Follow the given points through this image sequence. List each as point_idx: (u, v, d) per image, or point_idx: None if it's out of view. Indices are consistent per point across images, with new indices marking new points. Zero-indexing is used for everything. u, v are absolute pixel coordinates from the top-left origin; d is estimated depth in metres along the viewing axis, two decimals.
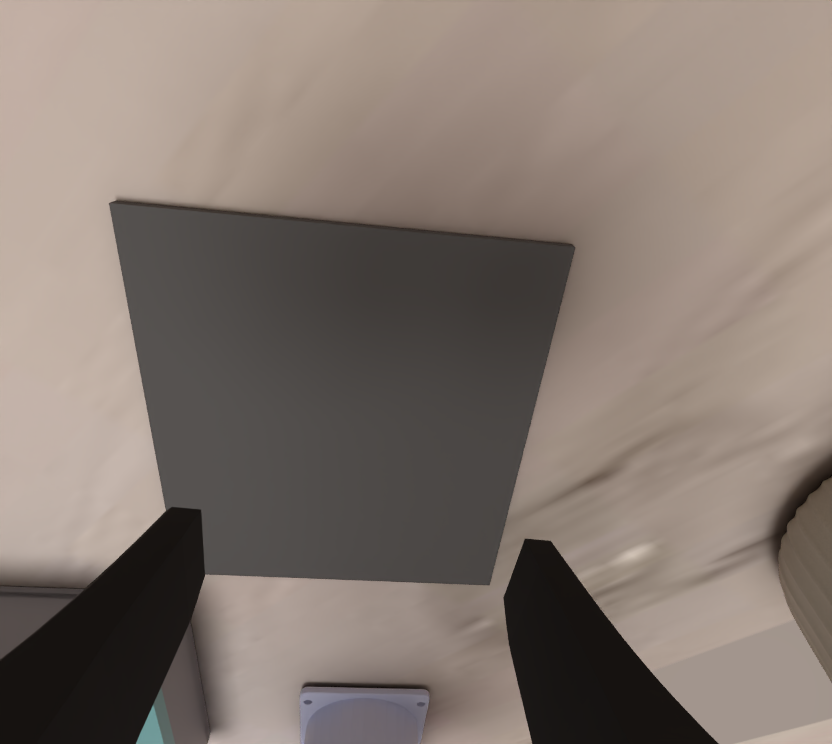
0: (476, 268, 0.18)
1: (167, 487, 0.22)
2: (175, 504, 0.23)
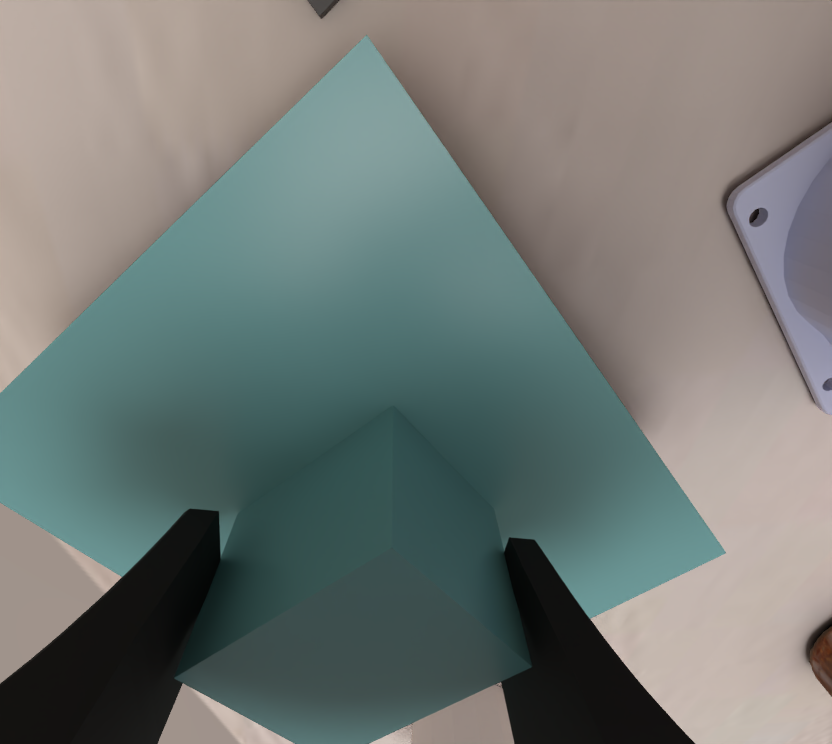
0: None
1: None
2: None
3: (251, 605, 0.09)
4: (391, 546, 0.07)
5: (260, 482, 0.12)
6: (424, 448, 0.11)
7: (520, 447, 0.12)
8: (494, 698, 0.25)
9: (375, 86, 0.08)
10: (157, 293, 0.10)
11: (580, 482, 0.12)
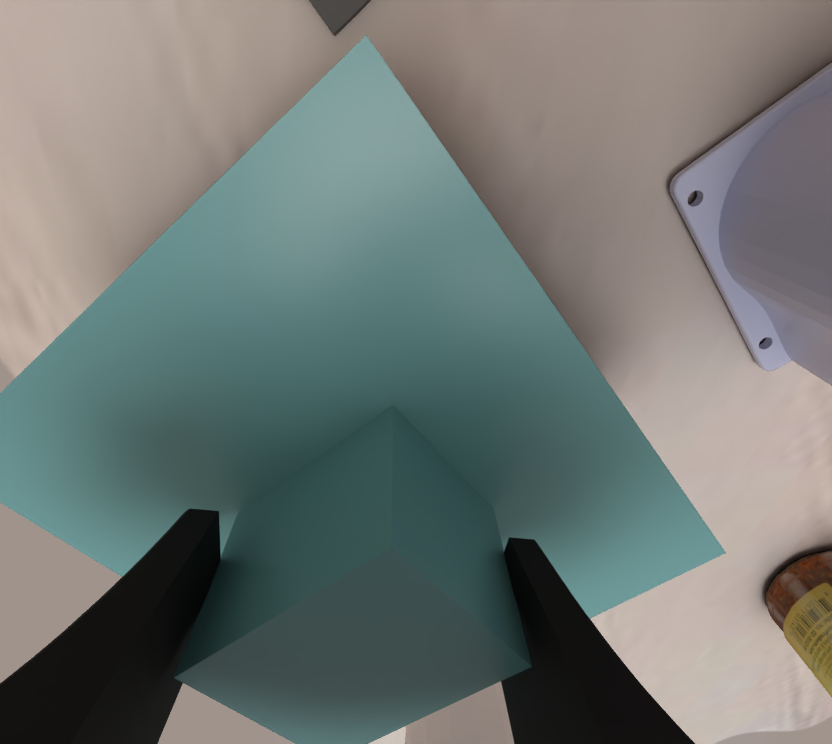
0: None
1: None
2: None
3: (250, 605, 0.09)
4: (390, 546, 0.07)
5: (260, 482, 0.12)
6: (424, 448, 0.11)
7: (520, 447, 0.12)
8: None
9: (375, 86, 0.08)
10: (157, 293, 0.10)
11: (580, 482, 0.12)
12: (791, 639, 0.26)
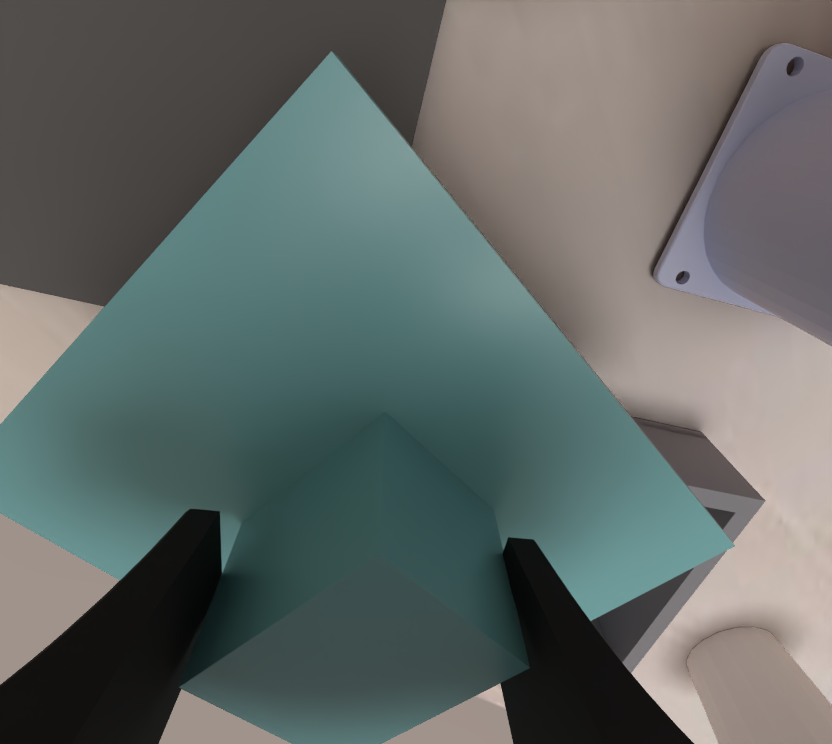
0: None
1: None
2: None
3: (249, 614, 0.09)
4: (377, 553, 0.08)
5: (261, 492, 0.12)
6: (418, 453, 0.11)
7: (515, 447, 0.12)
8: (744, 638, 0.29)
9: (343, 100, 0.08)
10: (148, 313, 0.10)
11: (579, 480, 0.12)
12: None
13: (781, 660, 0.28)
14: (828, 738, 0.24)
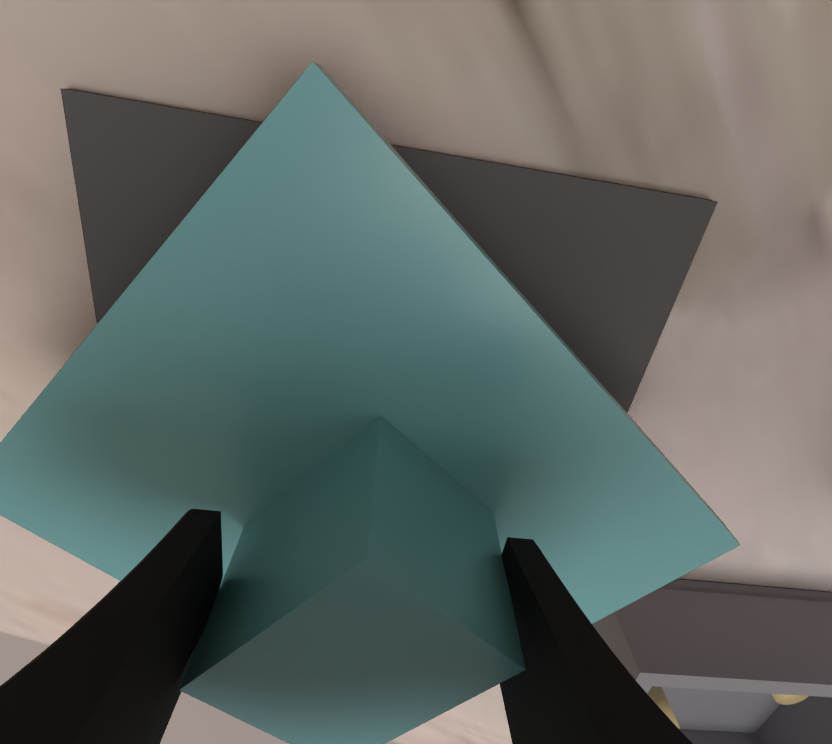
0: (122, 231, 0.14)
1: None
2: None
3: (246, 618, 0.09)
4: (366, 556, 0.08)
5: (261, 497, 0.12)
6: (414, 456, 0.11)
7: (512, 448, 0.12)
8: None
9: (326, 109, 0.08)
10: (144, 324, 0.10)
11: (577, 480, 0.12)
12: None
13: None
14: None
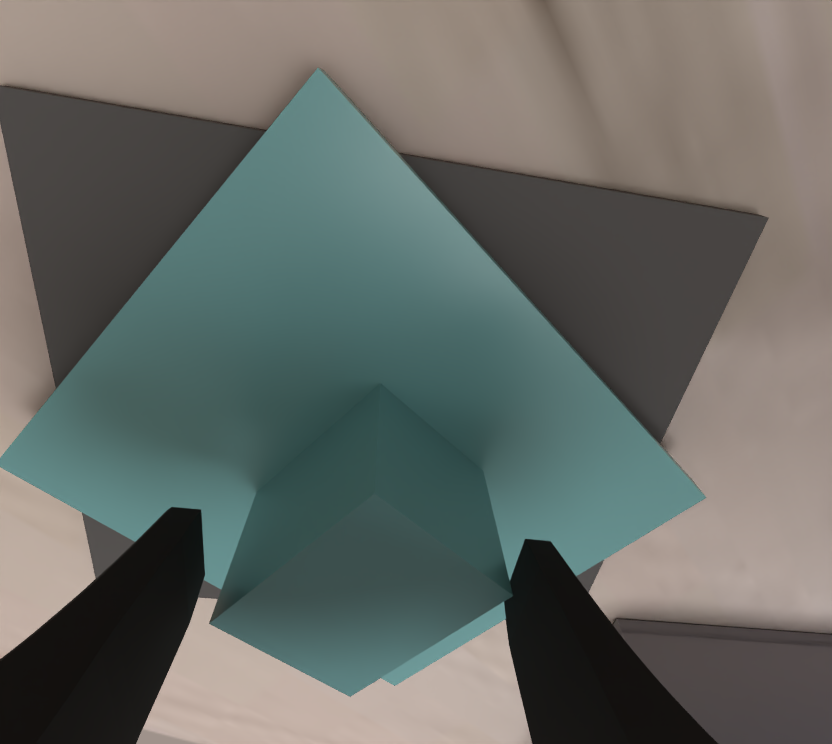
0: (74, 252, 0.12)
1: None
2: None
3: (267, 559, 0.10)
4: (374, 492, 0.09)
5: (273, 462, 0.13)
6: (411, 419, 0.12)
7: (499, 411, 0.13)
8: None
9: (330, 109, 0.09)
10: (168, 302, 0.11)
11: (558, 440, 0.13)
12: None
13: None
14: None
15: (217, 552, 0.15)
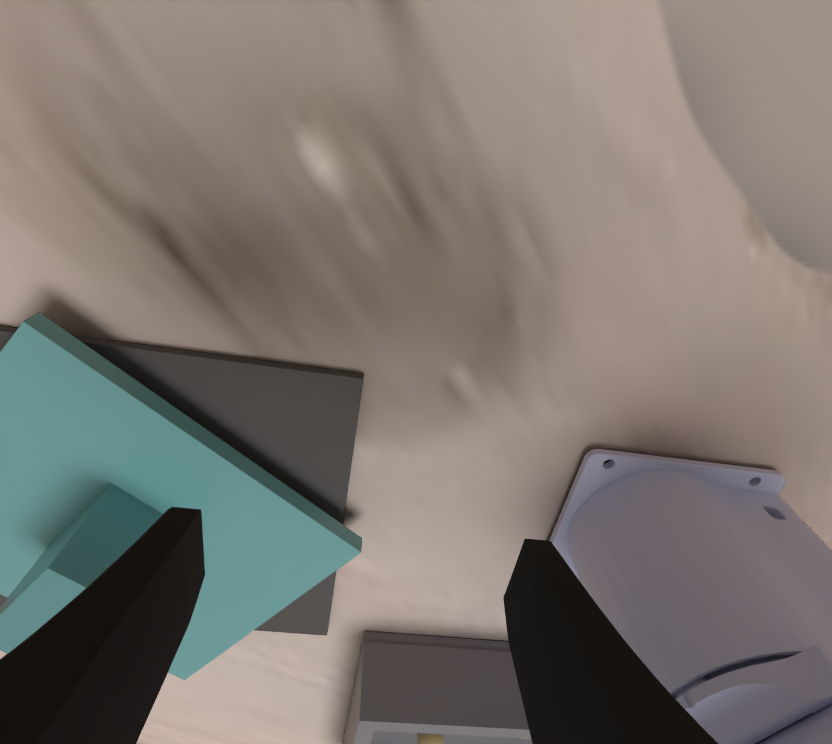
0: None
1: None
2: None
3: (11, 600, 0.17)
4: (48, 567, 0.16)
5: (53, 530, 0.20)
6: (130, 506, 0.19)
7: (196, 499, 0.20)
8: None
9: (36, 340, 0.16)
10: None
11: (243, 516, 0.20)
12: None
13: None
14: None
15: None
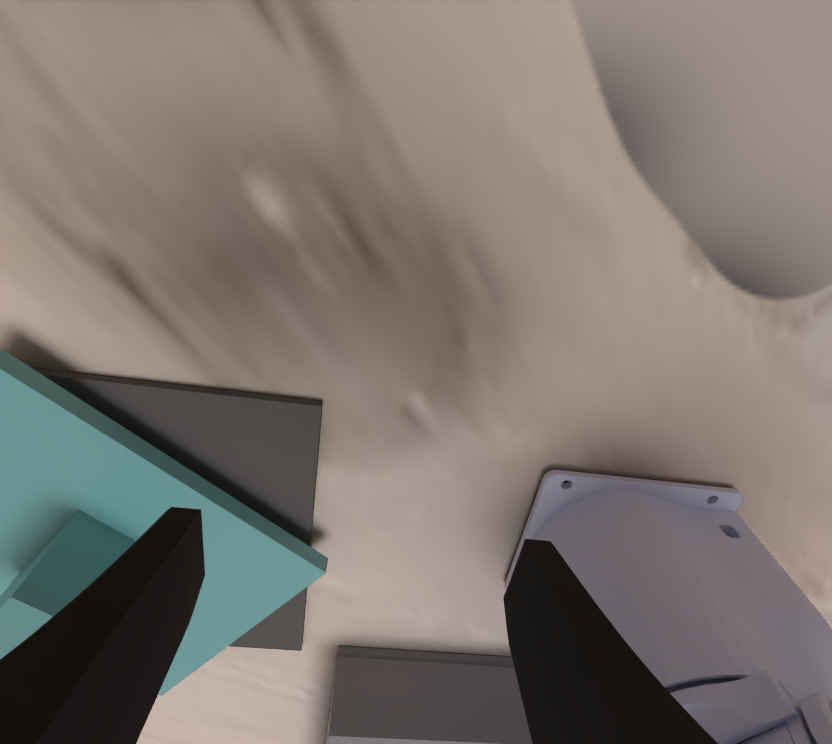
0: None
1: None
2: None
3: None
4: (11, 596, 0.16)
5: (25, 554, 0.21)
6: (98, 532, 0.20)
7: None
8: None
9: None
10: None
11: (209, 540, 0.21)
12: None
13: None
14: None
15: None
